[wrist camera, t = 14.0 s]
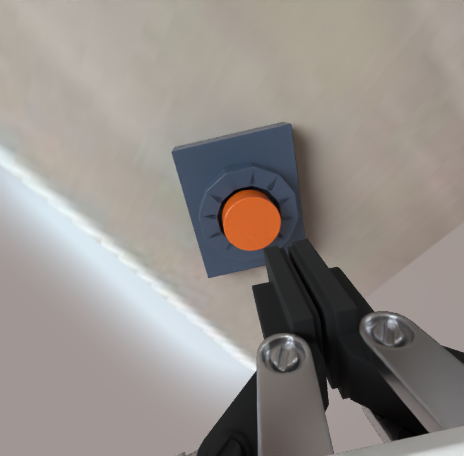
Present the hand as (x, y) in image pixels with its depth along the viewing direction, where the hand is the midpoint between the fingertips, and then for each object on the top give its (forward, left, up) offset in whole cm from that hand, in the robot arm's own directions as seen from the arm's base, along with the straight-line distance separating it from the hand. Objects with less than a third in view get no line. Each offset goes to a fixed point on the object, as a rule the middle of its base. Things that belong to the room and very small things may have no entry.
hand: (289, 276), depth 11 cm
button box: (+1, 0, -12) cm, 12 cm away
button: (+1, 0, -9) cm, 9 cm away
